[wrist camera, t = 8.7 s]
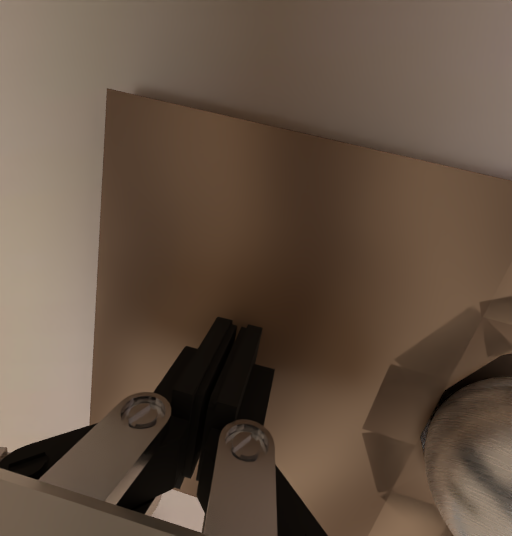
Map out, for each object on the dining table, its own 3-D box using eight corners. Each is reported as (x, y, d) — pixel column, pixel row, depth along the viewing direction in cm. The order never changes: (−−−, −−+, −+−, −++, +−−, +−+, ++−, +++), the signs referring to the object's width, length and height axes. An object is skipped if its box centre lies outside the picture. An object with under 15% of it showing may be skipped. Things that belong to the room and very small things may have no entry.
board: (106, 435, 17) (87, 460, 16) (132, 96, 12) (107, 88, 10) (597, 598, 15) (626, 644, 13) (922, 277, 9) (1029, 298, 8)
